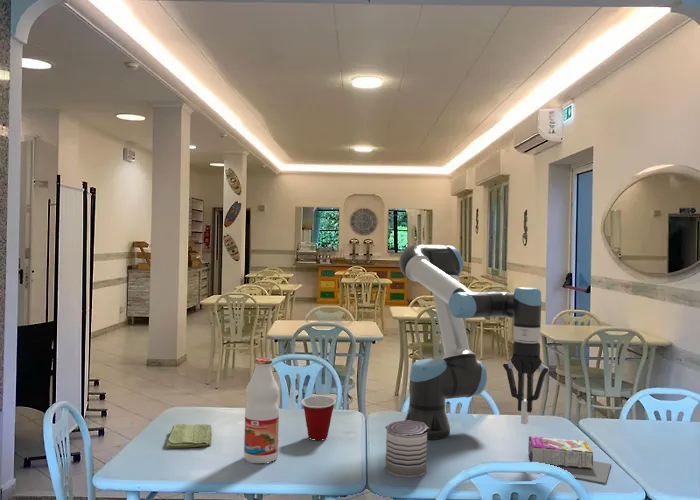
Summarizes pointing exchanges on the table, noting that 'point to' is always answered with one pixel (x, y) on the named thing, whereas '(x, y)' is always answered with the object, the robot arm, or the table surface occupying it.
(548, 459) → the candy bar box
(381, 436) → the table surface
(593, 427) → the table surface
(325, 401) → the plastic cup
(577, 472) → the mat
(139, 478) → the table surface
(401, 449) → the can
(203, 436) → the washcloth
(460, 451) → the table surface
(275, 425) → the fruit juice
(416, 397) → the robot arm
